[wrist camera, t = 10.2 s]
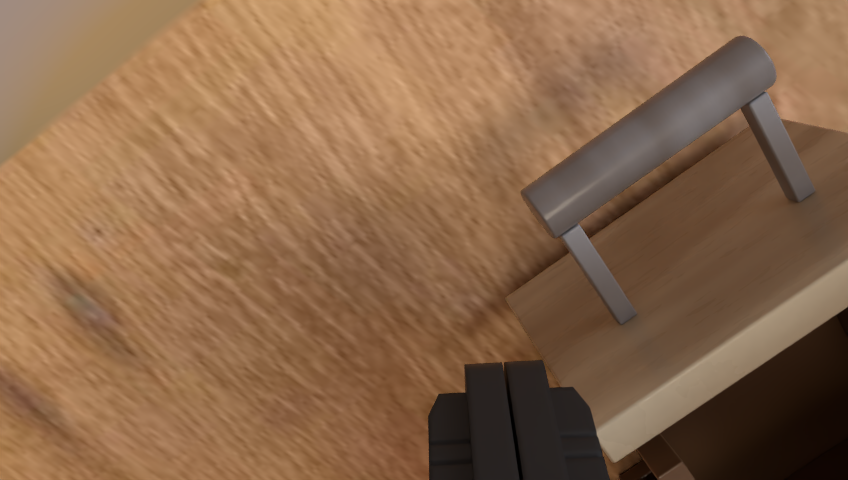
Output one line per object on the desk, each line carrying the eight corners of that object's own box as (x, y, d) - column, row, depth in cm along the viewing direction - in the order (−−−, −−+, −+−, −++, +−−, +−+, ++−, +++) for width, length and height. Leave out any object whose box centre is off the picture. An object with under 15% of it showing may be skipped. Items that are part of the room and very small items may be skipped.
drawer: (426, 192, 23) (480, 286, 15) (703, -9, 22) (923, -27, 14) (679, 537, 30) (815, 737, 21) (902, 390, 29) (1135, 539, 20)
